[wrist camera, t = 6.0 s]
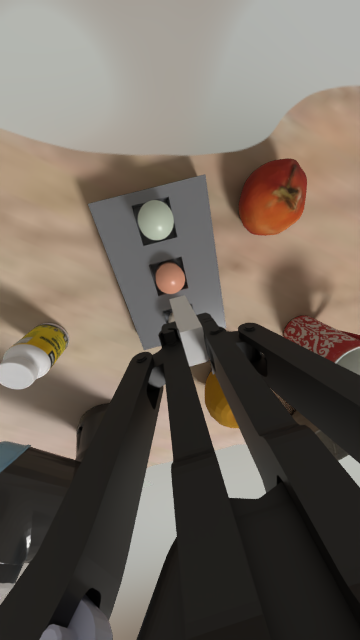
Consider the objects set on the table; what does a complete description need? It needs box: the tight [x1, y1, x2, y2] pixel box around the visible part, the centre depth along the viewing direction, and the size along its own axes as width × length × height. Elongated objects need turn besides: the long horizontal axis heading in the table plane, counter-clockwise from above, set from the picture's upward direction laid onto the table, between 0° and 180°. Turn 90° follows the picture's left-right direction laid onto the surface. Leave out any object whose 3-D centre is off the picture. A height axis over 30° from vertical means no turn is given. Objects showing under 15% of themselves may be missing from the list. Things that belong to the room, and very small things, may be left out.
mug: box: [284, 316, 360, 375], centre depth 37 cm, size 13×9×14 cm
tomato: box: [239, 159, 307, 235], centre depth 27 cm, size 9×9×8 cm
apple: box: [205, 371, 239, 428], centre depth 40 cm, size 13×13×11 cm
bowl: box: [292, 410, 349, 461], centre depth 52 cm, size 19×19×10 cm
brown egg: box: [155, 261, 185, 294], centre depth 30 cm, size 4×4×4 cm
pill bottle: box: [0, 323, 69, 389], centre depth 31 cm, size 6×6×11 cm
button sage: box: [138, 200, 174, 240], centre depth 25 cm, size 4×4×4 cm
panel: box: [88, 175, 226, 350], centre depth 32 cm, size 16×24×4 cm, turn 13°
